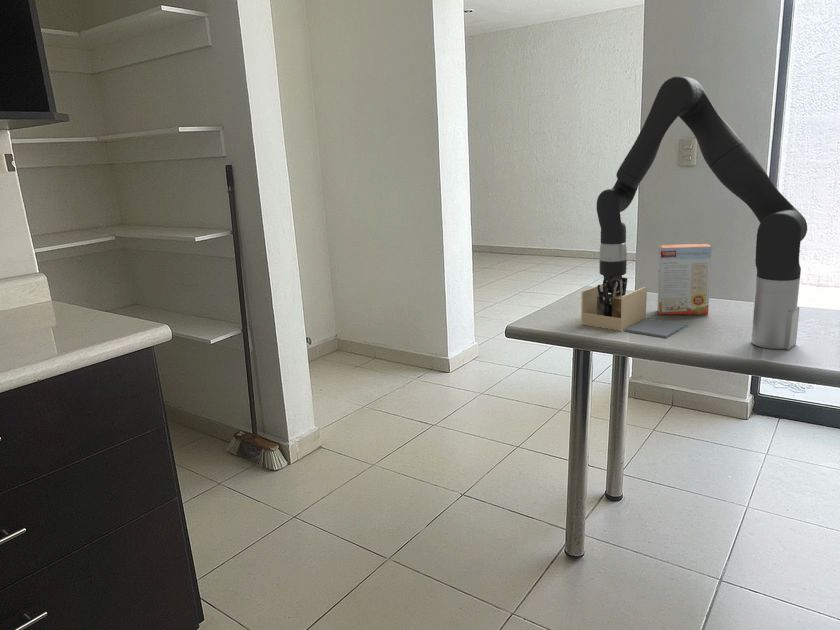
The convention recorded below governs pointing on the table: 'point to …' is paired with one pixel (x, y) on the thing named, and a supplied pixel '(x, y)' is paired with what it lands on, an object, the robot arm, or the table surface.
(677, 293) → the cracker box
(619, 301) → the box
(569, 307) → the table surface
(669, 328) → the rubber mat
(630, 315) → the open wooden box
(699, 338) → the table surface
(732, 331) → the table surface
